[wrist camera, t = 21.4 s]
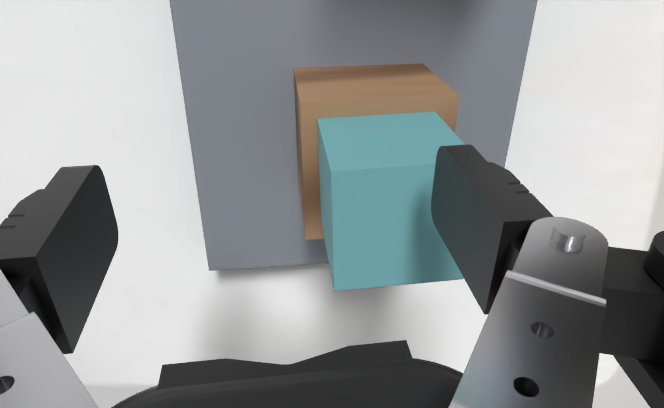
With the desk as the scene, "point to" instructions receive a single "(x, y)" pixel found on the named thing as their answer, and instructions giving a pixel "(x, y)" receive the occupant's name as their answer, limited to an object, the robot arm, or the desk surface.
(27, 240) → the robot arm
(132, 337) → the desk surface
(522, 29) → the slate gray board
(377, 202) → the teal block
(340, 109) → the walnut block
